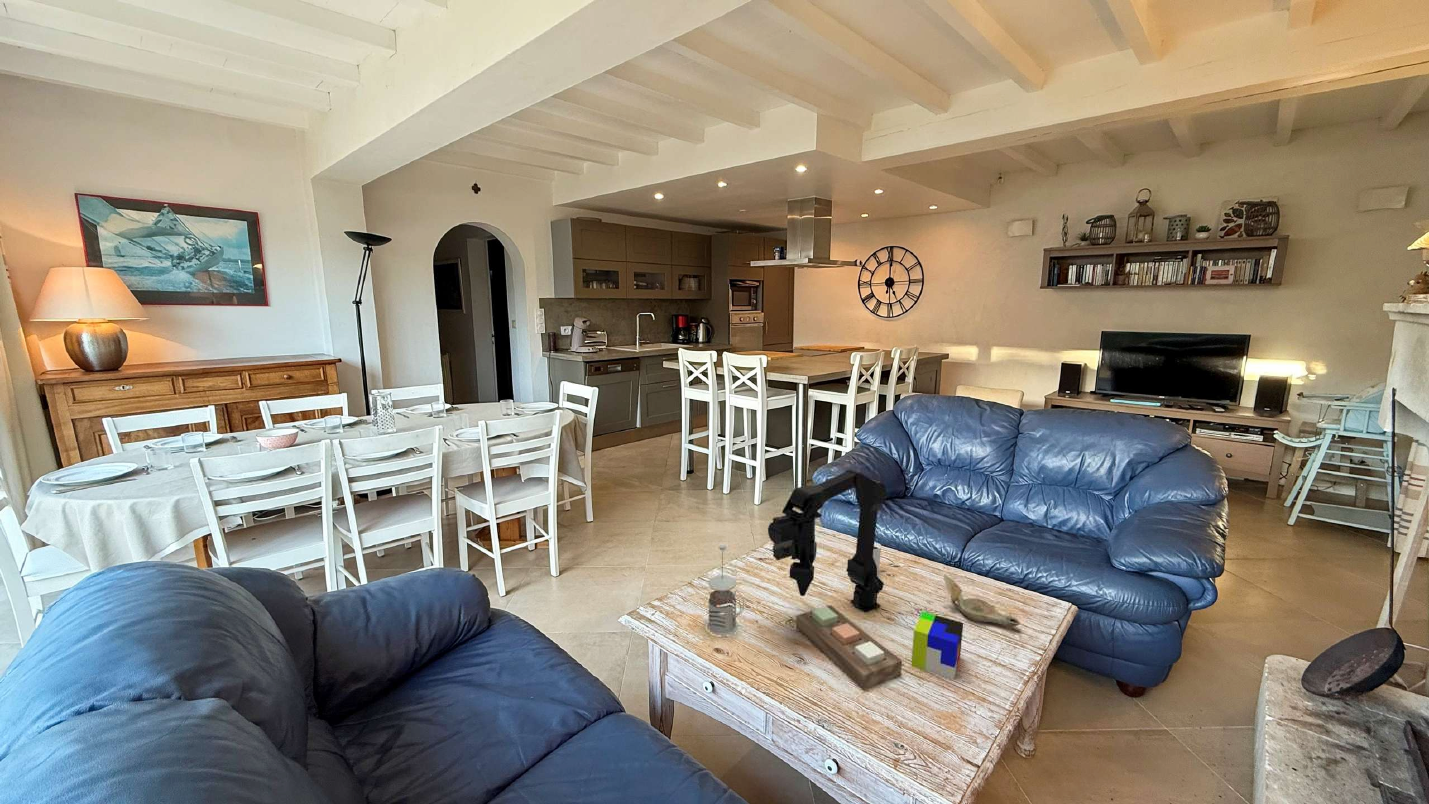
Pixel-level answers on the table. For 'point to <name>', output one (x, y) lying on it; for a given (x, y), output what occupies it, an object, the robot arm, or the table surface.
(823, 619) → the pale green square block
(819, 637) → the key console
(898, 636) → the table surface
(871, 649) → the white square block
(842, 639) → the terracotta key
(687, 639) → the table surface
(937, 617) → the puzzle toy
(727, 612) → the french press
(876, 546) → the drinking glass
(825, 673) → the table surface
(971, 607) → the oil lamp
